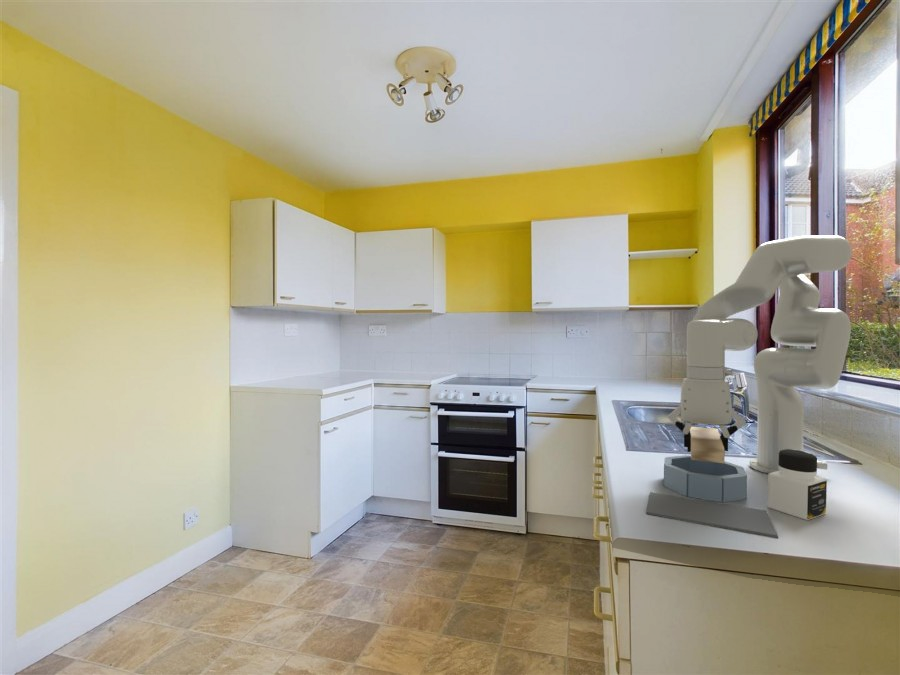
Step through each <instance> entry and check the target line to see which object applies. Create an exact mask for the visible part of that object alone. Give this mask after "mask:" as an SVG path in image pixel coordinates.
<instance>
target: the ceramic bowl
mask: <svg viewBox="0 0 900 675" xmlns="http://www.w3.org/2000/svg"><path fill="white" fill-rule="evenodd" d="M747 485H748V475H747V472H746V470H745V468H744V467H743V466H741V465H737V464H734V463H732V462H728V461H726V460H724V463H717V462H708V461H699V460H691V455H686V454H685V455H675V456H674V455H673V456H666V457H664V463H663V487H664V488H666V489H669V490H671V491H674V492H675V493H677V494H680V495H683V496H685V497H687V498H692V499H698V500H704V501H710V502H717V503H727V502H728V503H729V502H734V501H735V502H736V501H742V500H746V499H747V495H748V492H747V491H748V490H747V488H748V486H747Z"/></svg>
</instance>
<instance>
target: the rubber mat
mask: <svg viewBox="0 0 900 675" xmlns="http://www.w3.org/2000/svg"><path fill="white" fill-rule="evenodd" d="M647 500H648V502H647V507H646V515H649V516H651V515H652V516H657V517H662V518H668V519H673V520H679V521H683V522H684V521H685V522H689V523H690V522H691V523H694V524H695V523H696V524H700V525H705V526H711V527H712V526H713V527H716V528H717V527H718V528H721V529H728V530H732V529H733V531H738V530H740V531H739V532H743V531H745V532H744V533H749V532H750V534H755V535H760V536H765V535H766V537H771V538H776V539H777V538H779V534H778V533H777V530H776V528H775V526H774V524H773V522H772V519H771V517H770V515H769V513H768V512H767V510H764V509H757V508H752V507H751V508H750V507H746V506H739V505H735V504H733V505H732V504H727V503H723V502H717V501H711V500H704V499H698V498H692V497H686V496H685V497H683V496H678V495H672V494H664V493H659V492H653V491H650V492H649V495H648V499H647Z"/></svg>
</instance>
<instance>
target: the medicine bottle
mask: <svg viewBox="0 0 900 675" xmlns="http://www.w3.org/2000/svg"><path fill="white" fill-rule="evenodd" d="M817 460H818V457H817V456H816V455H815V454H813V453H812V452H809V451H806V450H803V451H802V450H796V449H785V450H781V451H780V452H779V464H778V469H779V470H780V471H776V472H772V473H769V474H768V473H767V478H768V479H767V508H769V509H771V510H774V511H777V512H780V513H783V514H787V515H789V516H792V517H795V518H799V519H802V520H804V521H810V520H812V519H815V518H818V517H820V516H824V515H826V514H827V492H828V491H827V490H828V489H827V487H828V485H827V484H828V482H827V481H828V480H827V478H826V477H822V476H818V475H817V474H818V472H817V471H818V469H817Z"/></svg>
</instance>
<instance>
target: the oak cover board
mask: <svg viewBox="0 0 900 675" xmlns="http://www.w3.org/2000/svg"><path fill="white" fill-rule="evenodd" d="M690 433H691V451H690V456H691V460H699V461H708V462H717V463H724V461H725V454H726V453H725V452H726V451H725V449H724V446H723V443H722V440H721V438H720V436H721V433H720V432H719V429H718V428H712V427H699V426H691V429H690Z"/></svg>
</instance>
